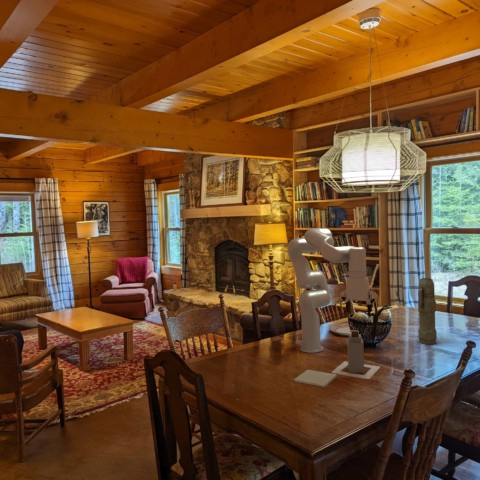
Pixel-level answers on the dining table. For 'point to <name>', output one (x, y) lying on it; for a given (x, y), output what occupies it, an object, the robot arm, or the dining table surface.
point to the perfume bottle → (355, 352)
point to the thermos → (427, 312)
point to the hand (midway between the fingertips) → (358, 311)
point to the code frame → (366, 376)
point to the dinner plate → (341, 329)
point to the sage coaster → (315, 378)
